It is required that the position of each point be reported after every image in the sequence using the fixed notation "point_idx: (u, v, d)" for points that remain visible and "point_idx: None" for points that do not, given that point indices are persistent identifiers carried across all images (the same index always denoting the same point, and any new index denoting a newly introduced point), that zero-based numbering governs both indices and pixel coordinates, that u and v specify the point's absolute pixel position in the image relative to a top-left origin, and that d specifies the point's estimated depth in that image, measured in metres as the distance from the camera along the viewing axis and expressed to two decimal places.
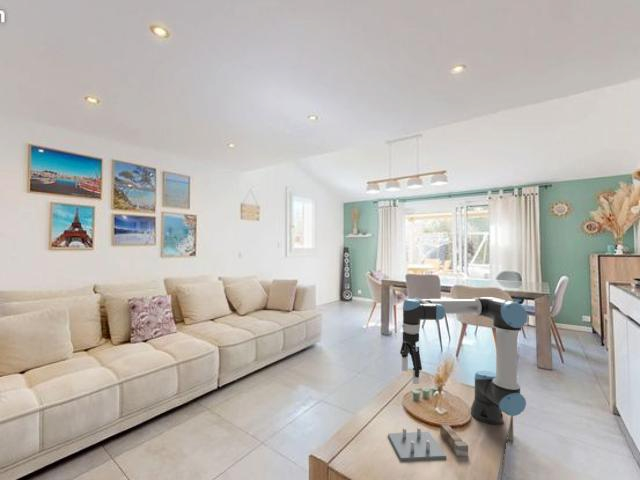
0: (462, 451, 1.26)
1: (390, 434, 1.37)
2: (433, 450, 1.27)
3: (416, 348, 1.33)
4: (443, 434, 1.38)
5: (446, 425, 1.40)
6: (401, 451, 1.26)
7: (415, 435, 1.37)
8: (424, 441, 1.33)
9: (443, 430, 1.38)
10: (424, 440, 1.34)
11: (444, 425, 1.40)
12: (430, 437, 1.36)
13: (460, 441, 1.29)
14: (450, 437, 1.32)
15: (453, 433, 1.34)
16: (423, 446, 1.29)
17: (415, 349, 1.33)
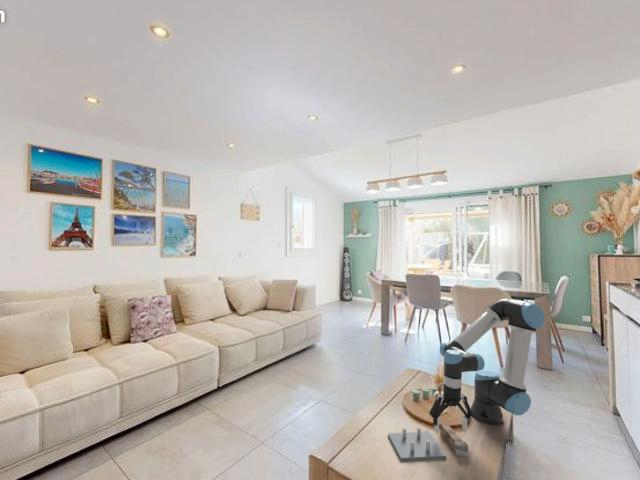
0: (462, 451, 1.26)
1: (390, 434, 1.37)
2: (433, 450, 1.27)
3: (437, 397, 1.35)
4: (443, 434, 1.38)
5: (446, 425, 1.40)
6: (401, 451, 1.26)
7: (415, 435, 1.37)
8: (424, 441, 1.33)
9: (443, 430, 1.38)
10: (424, 440, 1.34)
11: (444, 425, 1.40)
12: (430, 437, 1.36)
13: (460, 441, 1.29)
14: (450, 437, 1.32)
15: (453, 433, 1.34)
16: (423, 446, 1.29)
17: (437, 397, 1.35)
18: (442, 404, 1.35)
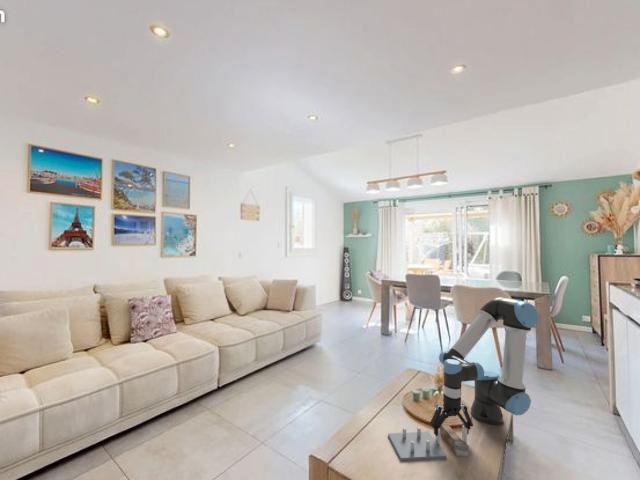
0: (462, 451, 1.26)
1: (390, 434, 1.37)
2: (433, 450, 1.27)
3: (437, 407, 1.35)
4: (443, 434, 1.38)
5: (446, 425, 1.40)
6: (401, 451, 1.26)
7: (415, 435, 1.37)
8: (424, 441, 1.33)
9: (443, 430, 1.38)
10: (424, 440, 1.34)
11: (444, 425, 1.40)
12: (430, 437, 1.36)
13: (460, 441, 1.29)
14: (450, 437, 1.32)
15: (453, 433, 1.34)
16: (423, 446, 1.29)
17: (437, 407, 1.35)
18: (442, 414, 1.35)
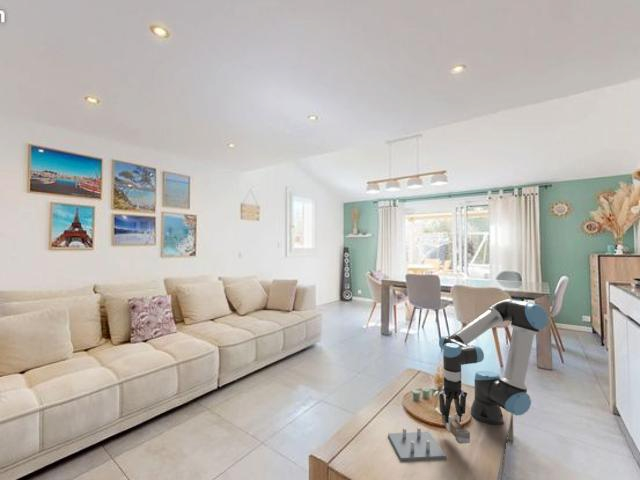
0: (464, 438, 1.26)
1: (390, 434, 1.37)
2: (433, 450, 1.27)
3: (439, 394, 1.35)
4: (445, 422, 1.39)
5: None
6: (401, 451, 1.26)
7: (415, 435, 1.37)
8: (424, 441, 1.33)
9: None
10: (424, 440, 1.34)
11: None
12: (430, 437, 1.36)
13: (461, 428, 1.29)
14: (452, 425, 1.32)
15: (454, 421, 1.35)
16: (423, 446, 1.29)
17: None
18: (446, 400, 1.35)
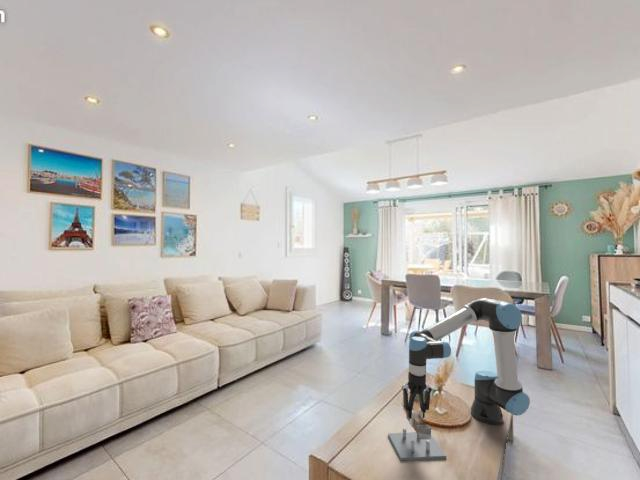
0: (425, 434, 1.22)
1: (390, 434, 1.37)
2: (433, 450, 1.27)
3: (403, 389, 1.31)
4: (408, 418, 1.35)
5: (412, 409, 1.36)
6: (401, 451, 1.26)
7: (415, 435, 1.37)
8: (424, 441, 1.33)
9: None
10: (424, 440, 1.34)
11: None
12: None
13: (423, 424, 1.25)
14: (414, 421, 1.28)
15: (418, 416, 1.31)
16: (423, 446, 1.29)
17: (402, 389, 1.31)
18: (410, 395, 1.32)
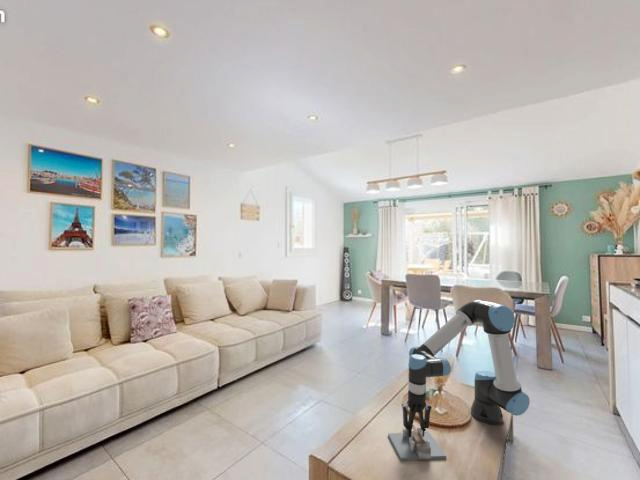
0: (425, 454, 1.22)
1: (390, 434, 1.37)
2: (433, 450, 1.27)
3: (402, 407, 1.31)
4: (408, 436, 1.35)
5: (412, 426, 1.36)
6: (401, 451, 1.26)
7: None
8: None
9: None
10: (424, 440, 1.34)
11: None
12: (430, 437, 1.36)
13: (423, 443, 1.25)
14: (414, 439, 1.28)
15: (417, 435, 1.30)
16: None
17: (402, 407, 1.31)
18: (410, 413, 1.31)
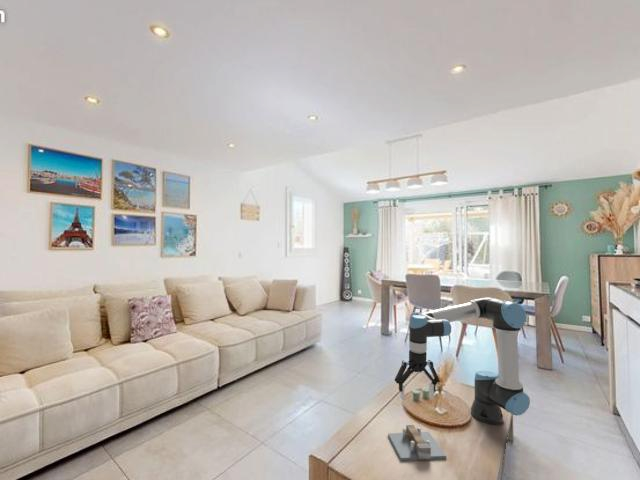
0: (425, 454, 1.22)
1: (390, 434, 1.37)
2: (433, 450, 1.27)
3: (403, 362, 1.31)
4: (408, 436, 1.35)
5: (412, 426, 1.36)
6: (401, 451, 1.26)
7: None
8: None
9: (408, 432, 1.34)
10: (424, 440, 1.34)
11: (410, 426, 1.36)
12: (430, 437, 1.36)
13: (423, 443, 1.25)
14: (414, 439, 1.28)
15: (417, 435, 1.30)
16: None
17: (402, 363, 1.32)
18: (408, 370, 1.32)
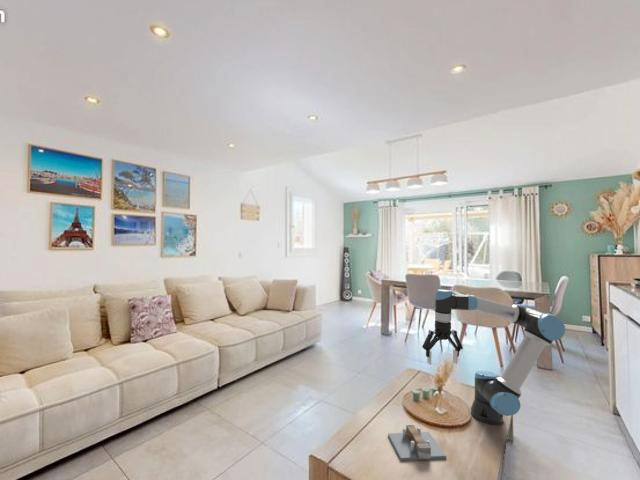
0: (425, 454, 1.22)
1: (390, 434, 1.37)
2: (433, 450, 1.27)
3: (429, 331, 1.46)
4: (408, 436, 1.35)
5: (412, 426, 1.36)
6: (401, 451, 1.26)
7: None
8: None
9: (408, 432, 1.34)
10: (424, 440, 1.34)
11: (410, 426, 1.36)
12: (430, 437, 1.36)
13: (423, 443, 1.25)
14: (414, 439, 1.28)
15: (417, 435, 1.30)
16: None
17: (429, 332, 1.47)
18: (434, 338, 1.47)
